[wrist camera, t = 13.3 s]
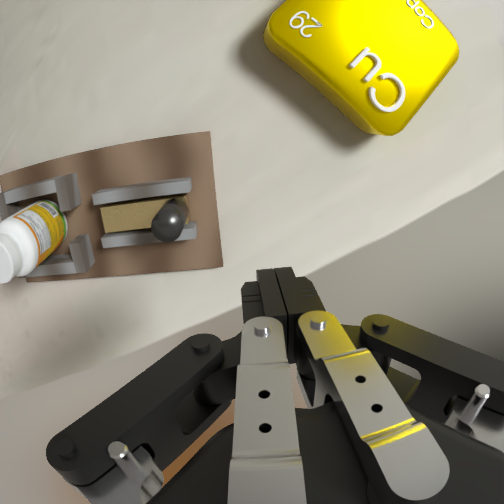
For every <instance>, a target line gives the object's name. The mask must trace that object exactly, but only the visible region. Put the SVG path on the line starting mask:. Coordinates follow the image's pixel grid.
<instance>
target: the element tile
mask: <svg viewBox="0 0 504 504" xmlns="http://www.w3.org/2000/svg"><path fill="white" fill-rule="evenodd" d="M263 37H264V43H265V44H266V46H267V48H268V49H269V50H270V51H271V52H272V53H273V54H274V55H276V56H277V57H278V58H280V59H281V60H282V61H283V62H285V63H286V64H287V65H289V66H290V67H291V68H292V69H294V70H295V71H296V72H297V73H298V74H300V75H301V76H302V77H303V78H304V79H306V80H307V81H308V82H309V83H310V84H311V85H313V86H314V87H315V88H316V89H317V90H318V91H319V92H321V93H322V94H323V95H324V96H325V97H326V98H327V99H328V100H330V101H331V102H332V103H333V104H334V105H335V106H336V107H337V108H338V109H339V110H340V111H341V112H342V113H343V114H345V115H346V116H347V117H348V118H349V119H350V120H351V121H352V122H353V123H354V124H355V125H356V126H357V127H358V128H359V129H361V130H362V131H364V132H366V133H369V134H376V135H384V136H393V135H395V134H397V133H399V132H400V131H402V130H403V129H404V127H405V126H406V125H407V124H408V122H409V121H410V120H411V119H412V118H413V116H414V115H415V114H416V113H417V111H418V110H419V109H420V108H421V106H422V105H423V104H424V103H425V101H426V100H427V99H428V98H429V96H430V95H431V94H432V93H433V91H434V90H435V89H436V87H437V86H438V85H439V84H440V82H441V81H442V80H443V78H444V77H445V76H446V75H447V73H448V72H449V71H450V69H451V68H452V67H453V66H454V64H455V63H456V62H457V60H458V57H459V47H458V44H457V42H456V40H455V38H454V37H453V35H452V34H451V32H450V31H449V30H448V29H447V28H446V26H445V25H444V24H443V23H442V22H441V20H440V19H439V18H438V17H437V16H436V15H435V14H434V12H433V11H432V10H431V9H430V8H429V7H428V6H427V5H426V4H425V3H424V2H423V1H422V0H286V1H285V2H284V3H283V4H282V5H281V6H280V7H279V8H277V9H276V10H275V11H274V12H273V13H272V15H271V17H270V19H269V21H268V24H267V26H266V29H265V32H264V34H263Z"/></svg>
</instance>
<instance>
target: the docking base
mask: <svg viewBox="0 0 504 504" xmlns="http://www.w3.org/2000/svg"><path fill="white" fill-rule="evenodd" d="M0 182H1V188H2V193H0V213H1V217H2V221H3V220H5V219H6V218H8V217H10V216H12V215H13V214H15V213H17V212H19V211H20V210H22V209H24V208H26V207H28V206H29V205H31V204H33V203H35V202H37V201H39V200H50V201H53V202H54V203H56V204H57V205H58V206H59V207H60V211H61V212H64V214H65V216H66V220H67V225H68V230H67V235H66V238H65V240H64V242H63V243H62V244H61V245H60V246H59V247H58V248H57V249H56V250H55V251H54V252H52V253H51V254H50V255H49V256H48V257H47V258H46V259H45V260H44V261H42V262H41V263H40V264H39V265H38V266H37V267H36V268H35V269H34V270H33V271H32V272H30V273H29V274H28V275H25V276H21V277H19V278H23V277H26V280H27V282H37V281H52V280H66V279H80V278H93V277H106V276H119V275H132V274H145V273H157V272H169V271H181V270H193V269H204V268H216V267H223V258H222V249H221V240H220V231H219V222H218V212H217V202H216V192H215V182H214V171H213V160H212V149H211V137H210V131H208V132H199V133H190V134H182V135H175V136H167V137H161V138H154V139H148V140H142V141H136V142H130V143H125V144H119V145H114V146H109V147H104V148H100V149H95V150H90V151H86V152H82V153H77V154H73V155H69V156H65V157H61V158H57V159H53V160H50V161H46V162H42V163H39V164H35V165H32V166H29V167H25V168H22V169H19V170H16V171H12V172H9V173H6V174H3V175H0ZM182 193H187V196H188V204H189V212H190V220H189V223H188V224H185V225H184V228H183V230H182V233H181V235H180V236H179V238H178V239H176V240H175V241H173V242H162V241H160V240H158V239H157V238H156V237H155V236H154V235H153V233H152V231H151V228H143V229H134V230H126V231H117V232H109V233H105V229H104V225H103V220H102V215H101V210H100V208H101V207H102V206H104V205H105V204H107V203H113V202H120V201H127V200H134V199H142V198H149V197H157V196H165V195H174V194H182Z"/></svg>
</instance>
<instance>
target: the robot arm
mask: <svg viewBox="0 0 504 504" xmlns="http://www.w3.org/2000/svg"><path fill="white" fill-rule="evenodd" d="M256 273H257V281H254V282H245V284H244V285H243V287H242V288H241V295H242V308H243V320H244V325H243V327H242V331H241V332H240V333H239V334H238V335H237V336H235V337H233V338H231V339H228V340H225V341H221V340H220V339H219V338H218V337H216V336H215V335H211V334H197V335H194V336H191V337H189V338H187V339H186V340H185V341H183V342H182V343H181V344H179V345H178V346H177V347H175V348H174V349H173V350H171V351H170V352H169V353H167V354H166V355H165V356H164V357H162V358H161V359H160V360H158V361H157V362H156V363H154V364H153V365H152V366H150V367H149V368H148V369H146V370H145V371H144V372H142V373H141V374H140V375H138V376H137V377H136V378H134V379H133V380H131V381H130V382H129V383H127V384H126V385H125V386H123V387H122V388H121V389H119V390H118V391H117V392H115V393H114V394H112V395H111V396H110V397H108V398H107V399H106V400H104V401H103V402H102V403H100V404H99V405H97V406H96V407H95V408H93V409H92V410H90V411H89V412H88V413H86V414H85V415H83V416H82V417H81V418H79V419H78V420H76V421H75V422H74V423H72V424H71V425H69V426H68V427H67V428H65V429H64V430H62V431H61V432H59V433H58V434H57V435H55V436H54V437H53V438H52V439H51V440H50V442H49V443H48V445H47V448H46V456H47V460H48V462H49V463H50V465H51V466H52V467H53V468H54V469H55V470H56V471H58V473H60V474H61V475H62V476H63V478H64V479H65V480H66V482H68V483H69V484H70V485H71V486H72V487H73V488H74V489H76V490H77V491H78V492H79V493H80V494H81V495H83V496H84V497H85V498H87V499H88V500H89V501H90V503H91V504H504V362H503V361H500V360H497V359H495V358H492V357H490V356H487V355H485V354H482V353H480V352H477V351H475V350H472V349H470V348H467V347H465V346H462V345H460V344H457V343H454V342H452V341H449V340H447V339H444V338H442V337H439V336H437V335H434V334H432V333H429V332H426V331H424V330H422V329H419V328H417V327H414V326H412V325H409V324H407V323H404V322H401V321H399V320H397V319H394V318H392V317H389V316H386V315H381V314H374V315H370V316H367V317H366V318H364V319H363V320H362V322H361V326H351V325H343V324H340V323H339V321H338V320H337V318H336V317H335V316H334V315H333V314H331V313H329V312H326V310H325V308H324V306H323V304H322V302H321V300H320V298H319V296H318V294H317V292H316V290H315V287H314V286H313V283H312V282H311V281H310V280H308V279H307V278H306V277H295V274H294V272H293V270H292V267H283V268H274V269H262V270H256ZM287 359H288V362H287ZM391 359H394V360H397V361H399V362H402V363H403V364H406V365H408V366H410V367H412V368H414V369H416V370H418V371H419V373H420V374H421V380H418V379H415V378H413V377H411V376H409V375H406V374H405V373H402V372H400V371H398V370H396V369H394V368H392V367H389V366H390V362H391ZM292 363H296V365H297V380H298V383H299V386H300V388H301V391H302V394H303V397H304V399H305V402H306V405H307V408H308V409H302V408H295V407H294V398H293V390H292V382H291V374H290V366H289V364H292ZM232 399H236V400H235V415H234V423H233V424H231V425H228V426H227V427H225V428H223V429H221V430H220V431H218V432H217V433H216V434H215V435H214V436H212V437H211V438H210V439H209V440H208V441H207V442H206V443H205V445H203V447H202V448H201V449H200V450H199V451H198V452H197V453H196V454H195V455H194V456H193V457H192V458H191V459H190V460H189V461H188V462H187V464H185V466H184V467H183V468H182V469H181V470H180V471H179V472H178V473H177V474H176V475H175V476H174V477H173V478H172V479H171V480H170V481H169V482H168V483H167V484H166V485H165V486H163V488H162V485H163V475H162V471H163V470H164V469H165V468H166V467H167V466H169V465H170V464H171V463H172V462H173V461H174V460H175V459H176V458H177V457H178V456H179V455H181V454H182V453H183V451H185V450H186V449H187V448H188V447H189V446H190V445H191V444H192V443H193V442H194V441H195V440H196V439H197V438H198V437H199V436H200V435H201V434H202V433H203V432H204V431H205V430H206V429H208V428H209V427H210V425H212V424H213V422H215V420H216V419H217V418H218V417H219V416H220V415H221V414H222V413H223V412H224V411H225V410H226V409H227V408H228V407H229V406H230V404H231V401H232Z"/></svg>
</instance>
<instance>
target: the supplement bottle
mask: <svg viewBox="0 0 504 504" xmlns="http://www.w3.org/2000/svg"><path fill="white" fill-rule="evenodd" d="M67 230H68V225H67V220H66V216H65V214H64V212H61V211H60V207H59V206H58V205H57V204H56V203H54V202H53V201H50V200H39V201H37V202H35V203H33V204H31V205H29V206H28V207H26V208H24V209H22V210H20V211H19V212H17V213H15V214H13V215H12V216H10V217H8V218H6V219H5V220H3V221H2V222H0V283H3V284H4V283H8V282H9V281H10V280H12V279H13V278H14V277H15V276H18V277H21V276H25V275H28V274H29V273H30V272H32V271H33V270H34V269H35V268H36V267H37V266H38V265H39V264H40V263H41V262H42V261H44V260H45V259H46V258H47V257H48V256H49V255H50V254H51V253H52V252H54V251H55V250H56V249H57V248H58V247H59V246H60V245H61V244H62V243H63V242H64V240H65V238H66V235H67Z"/></svg>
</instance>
